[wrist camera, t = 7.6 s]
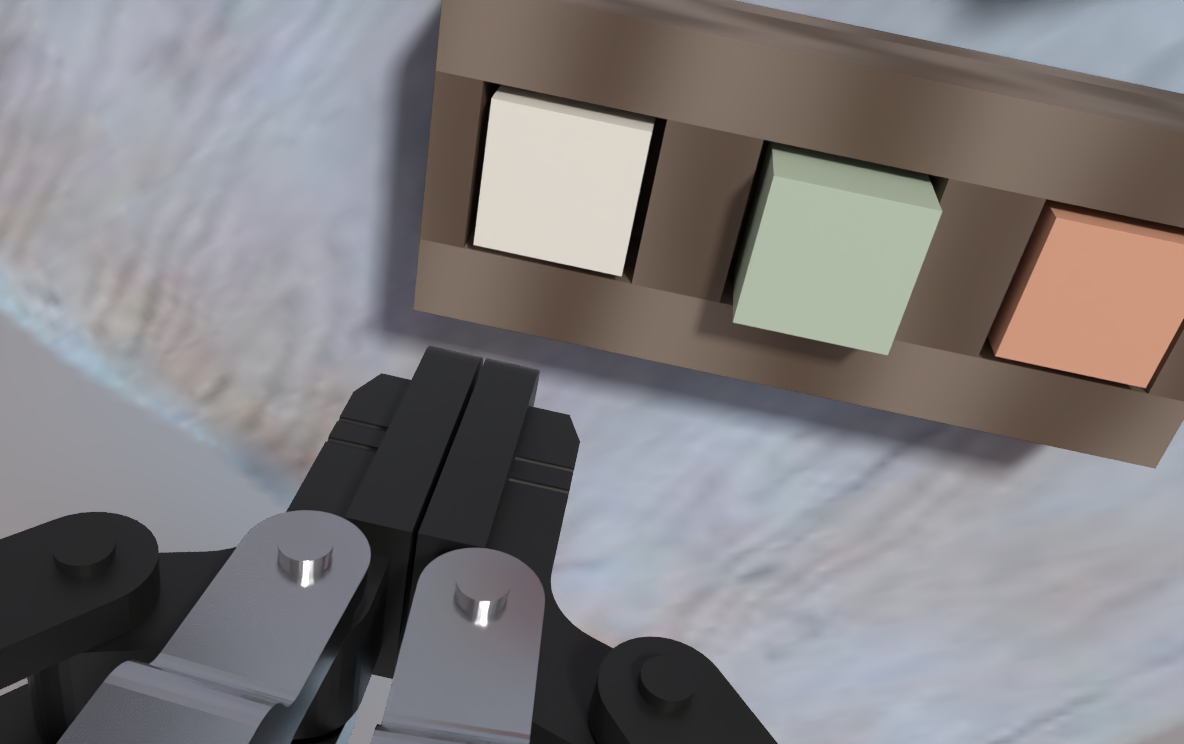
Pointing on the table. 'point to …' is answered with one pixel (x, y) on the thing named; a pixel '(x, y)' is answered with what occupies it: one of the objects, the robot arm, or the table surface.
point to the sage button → (833, 247)
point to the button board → (822, 123)
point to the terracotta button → (1093, 295)
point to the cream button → (561, 179)
